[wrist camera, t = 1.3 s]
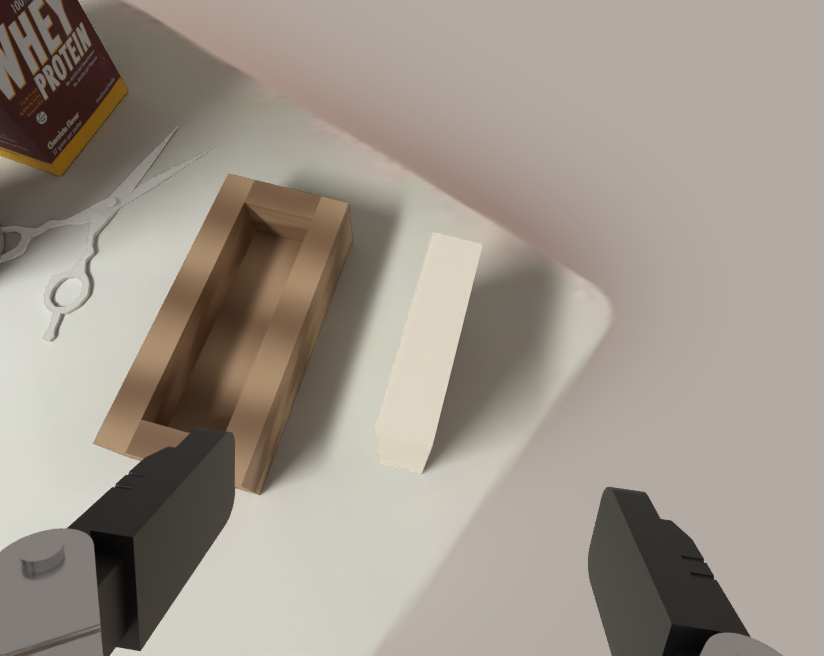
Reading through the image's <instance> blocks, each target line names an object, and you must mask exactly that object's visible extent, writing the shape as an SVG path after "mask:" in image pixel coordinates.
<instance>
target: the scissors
mask: <svg viewBox="0 0 824 656" xmlns="http://www.w3.org/2000/svg"><path fill="white" fill-rule="evenodd" d="M179 125H180V124H179ZM179 125H178V126H179ZM178 126H177V127H176V128H175V129H174V130H173V131H172V132H171V133H170V134H169V135H168V136H167V137H166V138H165V139H164V140H163V141H162V142H161V143H160V144H159V145H158V146H157V147H156V148H155V149H154V150H153V151H152V152H151V153H150V154H149V155H148V156H147V157H146V158H145V159H144V160H143V161H142V162H141V163H140V164H139V165H138V166H137V167H136V168H135V169H134V170H133V171H132V173H131V174H130V175H129V176H128V177H127V178H126V179H125V180H124V181H123V182H122V183H121V184H120V185H119V186H118V188H117V189H116V190H115V191H114V192H113V193H112V194H111V195H110V196H109V197H108V198H106V199H104V200H101V201H99V202H97V203H96V204H94V205H92V206H91V207H89V208H87V209H85V210H84V211H82V212H80V213H78V214H75V215H73V216H71V217H70V218H68V219H64V220H49V221H48V222H46V223H44V224H43V225H41V226H40V227H38V228H29V227H22V226H16V225H13V226H6V227H1V228H2V231H3V233H7V232H18V233H19V234H21V240H20V242H19V244H18V246H17V247H15V248H14V249H12V250H10V251H9V252H7V253H5V254H3V255H1V258H0V263H2V262H6V261H9V260H12V259H14V258H16V257H18V256H20V255H22V254H24V253H25V251H26V249H27V247H28V244H29V242H30V240H31V238H33V237H37V236H38V235H40V234H41V233H42V232H44V231H45V230H48V229H52V228H57V227H62V226H68V225H81V224H87V223H90V228H89V234H88V240H87V246H86V250H85V253H84V255H83V257H82V259H81V260H80V261H79V262H78V263H77V264H76V265H75V266H74V267H73V268H72V269H71V270H69V271H67V272H65V273H61V274H58V275H55V276H53V277H52V278H51V280H50V281H49V283H48V284H47V286H46V289H45V293H44V304H45V306H46V308H47V309H49V310H50V311H51V312H52V313H53V314H52V318H51V322H50V325H49V328H48V329H47V331H46V332H45V334H44V336H43V339H45V340H46V341H48V342H52V341H53V340H54V339H55V338H56V330H57V327H58V325H59V323H60V321H61V318H62V315H63V314H70V313H71V312H73V311H75V310H76V309H78V308H80V307H81V306H82V305H83V303H84V302H85V301H86V300H87V299H88V297H89V295H90V289H91V283H90V279H89V277H88V276H87V274H86V271H87V262H88V261H89V260H90V259H91V258H92V257H93V256H94V255H95V250H94V242H95V237H96V236H97V235H98V234H99V233H100V232H101V230H102V229H103V228H104V227H105V226H106V225H107V223H108V222H109V221H110V220H111V219H112V217H113V216H114V215H115V214H116V213H117V211H118V210H119V209H120V208H122V207H123V206H125V205H127V204H128V203H130V202H132V201H133V200H135V199H137V198H138V197H140V196H142V195H143V194H145V193H147V192H148V191H150V190H151V189H153V188H155V187H156V186H158V185H159V184H161V183H162V182H164V181H166V180H167V179H169V178H170V177H172V176H173V175H175V174H176V173H178V172H179V171H181V170H182V169H184V168H185V167H187V166H188V165H190V164H191V163H193V162H194V161H196V160H198V159H199V158H201V157H202V156H203V155H205V154H206V153H208V152H209V151H211V150H212V149H213V148H214V147H213V148H211V149H209V150H207V151H205V152H203V153H201V154H199V155H197V156H195V157H193V158H191V159H189V160H187V161H185V162H183V163H181V164H179V165H177V166H175V167H173V168H171V169H169V170H167V171H165V172H163V173H161V174H159V175H157V176H155V177H153V178H151V179H149V180H147V181H145V182H144V183H142V184H141V185H140V186H138V187H137V188H135V187H136V186H137V184H138V183H139V181H140V180H141V179H142V177H143V176H144V175H145V173H146V172H147V170H148V169H149V168H150V166H151V165H152V164H153V162H154V161H155V159H156V158H157V156H158V155H159V153H160V152H161V151H162V149H163V148H164V146H165V145H166V143H167V142H168V141H169V139H170V138H171V136H172V135H173V133H174V132H175V130H176V129H177V128H178ZM215 147H216V146H215ZM71 278H78V279H79V280H81V281H82V291H81V293H80V295H79V297H78V298H77V299H76V300H75V301H74V302H72V303H71V304H70V305H68V306H65V307H56V306H55V305H54V304H53V303H52V296H53V293H54V291H55V289H56V288H57V287H58V286H59V285H60V284H61V283H63V282H64V281H65V280H67V279H71Z"/></svg>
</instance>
